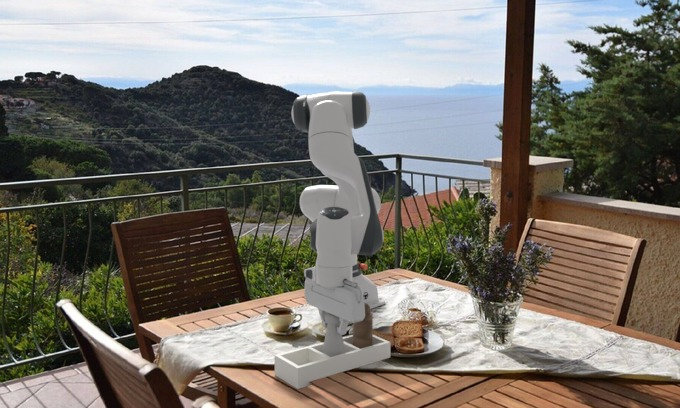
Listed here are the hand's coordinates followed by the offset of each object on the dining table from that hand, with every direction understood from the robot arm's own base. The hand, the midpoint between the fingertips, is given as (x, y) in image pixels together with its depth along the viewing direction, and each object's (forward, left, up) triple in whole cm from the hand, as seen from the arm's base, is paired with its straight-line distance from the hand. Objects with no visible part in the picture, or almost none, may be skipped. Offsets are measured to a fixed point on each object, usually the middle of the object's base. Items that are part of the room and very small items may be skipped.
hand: (334, 330), depth 164 cm
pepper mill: (-9, 0, -9) cm, 12 cm away
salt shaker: (0, 0, -9) cm, 9 cm away
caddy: (0, 0, -10) cm, 10 cm away
